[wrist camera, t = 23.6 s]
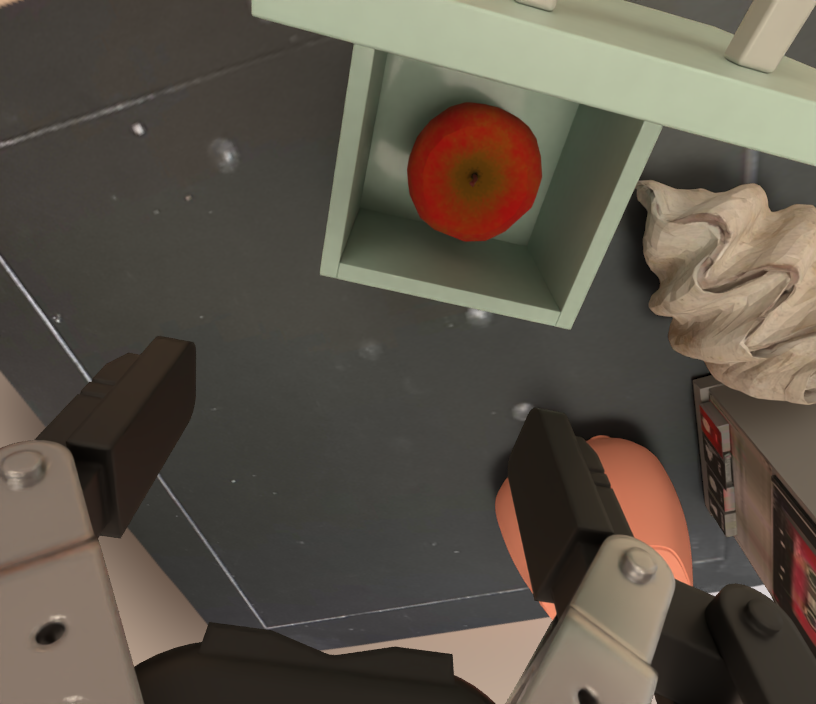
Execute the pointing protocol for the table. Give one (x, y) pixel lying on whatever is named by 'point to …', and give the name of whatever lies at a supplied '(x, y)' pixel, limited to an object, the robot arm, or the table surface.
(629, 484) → the teapot
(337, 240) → the pale green hollow box
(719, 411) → the cassette tape recorder
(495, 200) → the apple
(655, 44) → the lid
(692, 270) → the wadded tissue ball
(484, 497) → the table surface
